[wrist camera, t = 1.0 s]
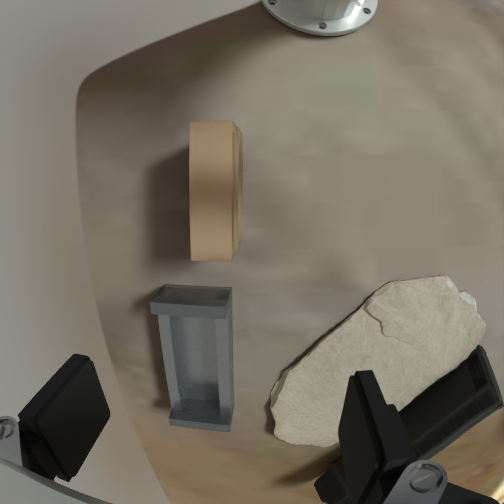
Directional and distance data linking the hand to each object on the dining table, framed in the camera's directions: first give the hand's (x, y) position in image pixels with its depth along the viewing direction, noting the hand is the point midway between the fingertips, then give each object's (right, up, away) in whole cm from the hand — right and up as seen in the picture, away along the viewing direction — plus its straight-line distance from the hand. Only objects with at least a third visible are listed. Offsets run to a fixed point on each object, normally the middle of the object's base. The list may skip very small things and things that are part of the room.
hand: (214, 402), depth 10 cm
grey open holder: (-4, -6, +24) cm, 25 cm away
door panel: (-1, +11, +19) cm, 22 cm away
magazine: (+22, -18, +26) cm, 38 cm away
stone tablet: (+16, -8, +24) cm, 30 cm away
